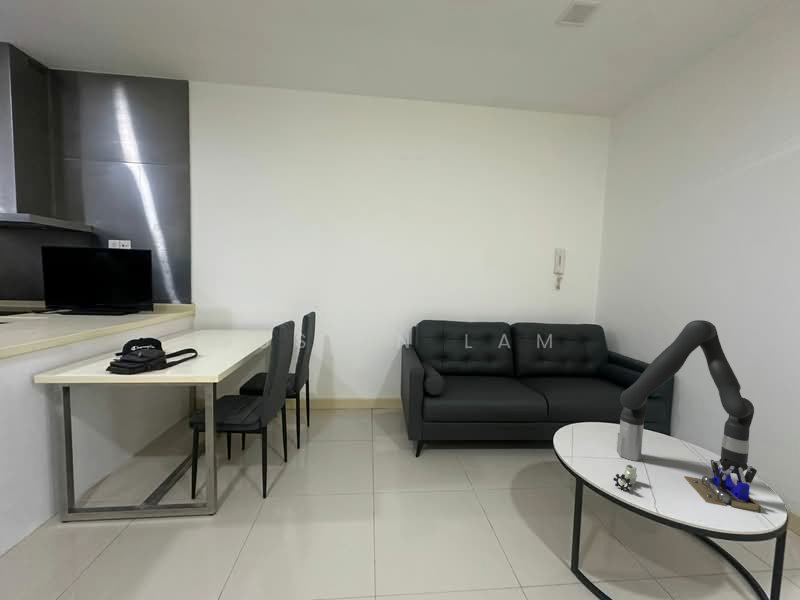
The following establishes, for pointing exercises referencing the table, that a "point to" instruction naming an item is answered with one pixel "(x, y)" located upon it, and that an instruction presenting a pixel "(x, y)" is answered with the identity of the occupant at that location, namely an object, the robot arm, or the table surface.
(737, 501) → the hinge base
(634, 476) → the valve
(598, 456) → the table surface
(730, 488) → the blue curved bracket
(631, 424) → the robot arm
